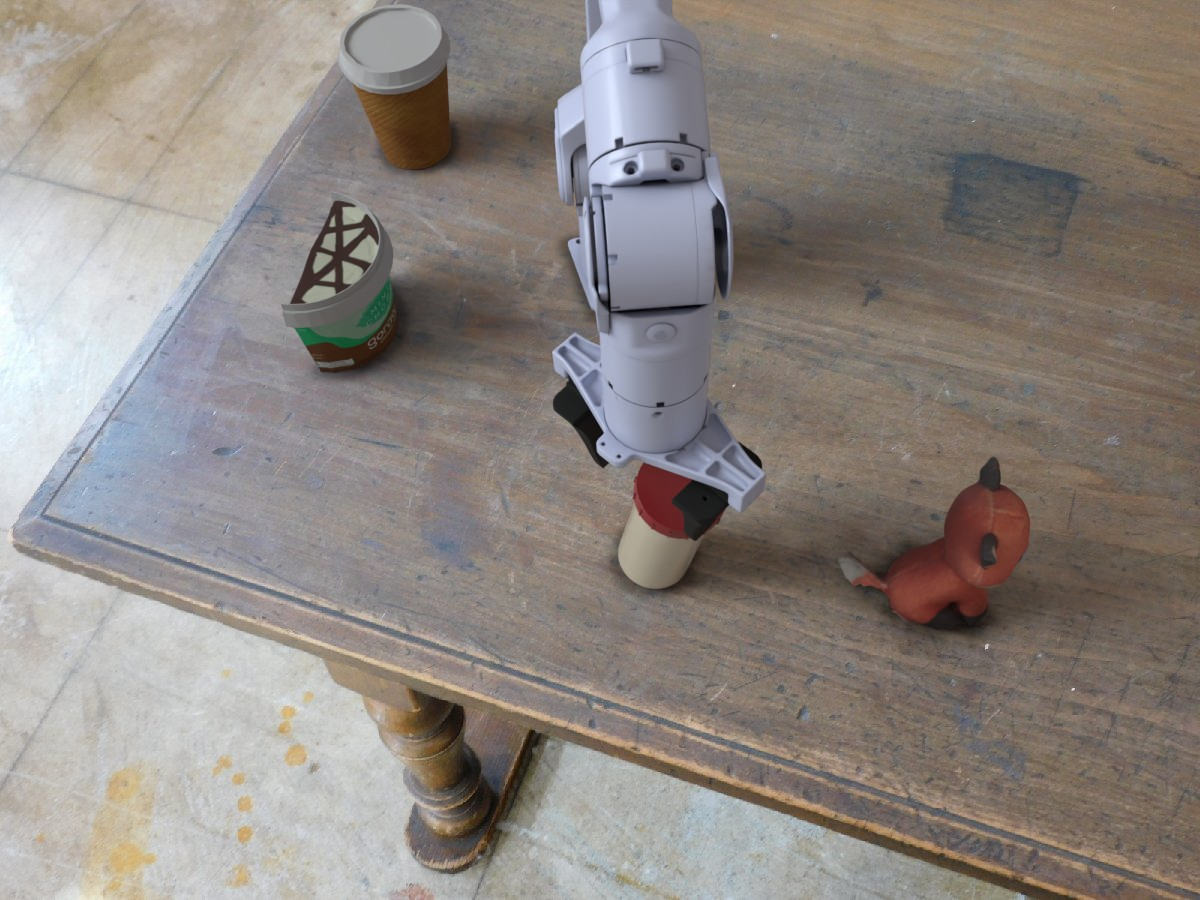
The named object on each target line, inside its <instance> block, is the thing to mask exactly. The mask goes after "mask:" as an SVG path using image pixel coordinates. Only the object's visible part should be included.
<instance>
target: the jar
mask: <svg viewBox="0 0 1200 900" xmlns="http://www.w3.org/2000/svg"><path fill="white" fill-rule="evenodd" d="M638 514H639V513H638V511H637V508H636V506H635V502H634V501H633V504H632V507H631V509H630V512H629V515H628V517H627V521H626V524H625V527H624V529H623V531H622V535H621V537H620V541H619V543H618V548H617V557H618V563H619V565H620V567H621V570H622V571H623V573H624V574H625V575H626V576H627V578H629V579H630V580H631V581H632V582H633V583H635V584H637V585H639V586H640V587H643V588H645V589H653V590H660V589H666V588H669V587H671V586H673V585H675V584H676V583H678V582H679V581H680V580H681V579H682V578H683V577H684V576H685V574H686V572H687V571H688V569H689V566H690V565H691V563H692V561H693V559H694V557H695V555H696V553H697V551H698V550H699V547H700V546H701V544H702V542H703V540H704V538H705V537H706V534H705V535H702V536H701V537H700V538H699V539H698V540H697V541H693V540H692V539H691V538H690V539H688V540H686V539H676V538H671V537H669V538H667V536H665V535H662V534H660V533H658V532H657V531H655V530H653V529H651V527H650V526H649V525H648V524H646V523H645V521H644V520H643V519H642V518H641V516H639V515H638Z"/></svg>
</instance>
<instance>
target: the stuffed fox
mask: <svg viewBox="0 0 1200 900" xmlns="http://www.w3.org/2000/svg"><path fill="white" fill-rule="evenodd" d="M1001 483H1002V472H1001V466H1000V462H999V459H998V458H997V457H996V456H991V457H990V458H988V460H987V461H986V463H985V464H984V465H983V466H981V467H980V469H979V478H978V480H977V481H976V482H975V483H973V484H970V485H969V486H967V487H966V488H964V489H963V490H961V491H960V492H959V493H958V494H957V496H956V497H955V498H954V500H953V501H952V503H951V504H950V507H949V509H948V511H947V513H946V516H945V519H944V520H945V521H944V524H943V537H940V538H938V539H936V540H934V541H932V542H931V543H928V544H924V545H920V546H917V547H914V548H910V549H908V550H907V551H906V552H904V553H902V554H901V555H899V556H898V557H897V558H895V560H894V561H893V563H891V565H890V566H889V569H888V570H887V571H886V572H885V573H883V574H882V573H880V574H879V575H877V574H876V573H875V572H874V571H873V570H872V569H871V568H870V567H868V566H867V565H866V564H865V563H864V562H863V561H862V560H861V559H860V558H858V557H857V556H855V554H854V553H853V552H852V551H850V550H849V551H846V552H845V553H843V554H841V555H839V556H838V557H837V562H838V565H839V567H840V568H841V571H842V573H843V575H844V577H845V578H846V580H848V581H849V582H850V583H851V585H853V586H854V587H857V586H858V585H861V586H862V587H863V588H864V587H867V586H872V587H874V588H876V589H879V590H881V591H882V593H884V594H885V595H887V597H888V602H889V607H890V608H891V609H892V612H893V613H894V614H897V616H899V618H901V621H903V622H906V623H908V624H916V625H918V626H921V627H924V628H930V629H933V630H937V631H938V630H940V631H945V630H950V629H952V628H953V627H955V626H956V625H958V624H962V625H965V626H969V627H974V626H977V625H978V624H980V623H981V621H982V620H984V618H985V617H987V613H988V607H989V600H988V590H987V589H993V588H996V587H1000V586H1002V585H1003V584H1005V582H1006V581H1008V580H1009V578H1010V577H1011V575H1012V573H1013V571H1014V570H1015V568H1017V567H1019V566H1020V565H1022V564H1024V562H1025V561H1026V560H1027V559H1028V556H1029V554H1030V535H1031V534H1030V533H1031V519H1030V518H1031V517H1030V513H1029V510H1028V507H1027V505H1026V503H1025V502H1024V500H1023V499H1022V498H1021V497H1020V496H1019V495H1018V494H1017V493H1016V492H1015V491H1014V490H1012V489H1011V488H1009V487H1008V486H1006V485H1004V484H1001Z"/></svg>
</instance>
